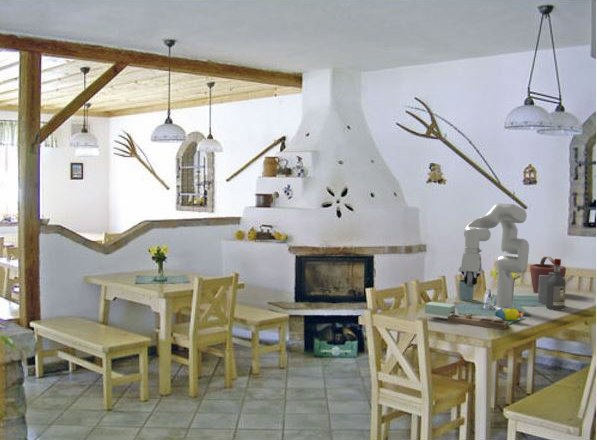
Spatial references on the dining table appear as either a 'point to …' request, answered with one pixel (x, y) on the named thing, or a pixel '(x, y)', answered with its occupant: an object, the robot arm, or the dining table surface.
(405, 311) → the dining table surface
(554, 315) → the dining table surface
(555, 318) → the dining table surface
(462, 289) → the drinking glass
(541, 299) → the hip flask
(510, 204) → the robot arm
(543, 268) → the bucket
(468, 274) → the pin
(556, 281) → the liquor
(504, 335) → the dining table surface
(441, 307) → the cover
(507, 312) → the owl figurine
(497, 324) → the pin board
